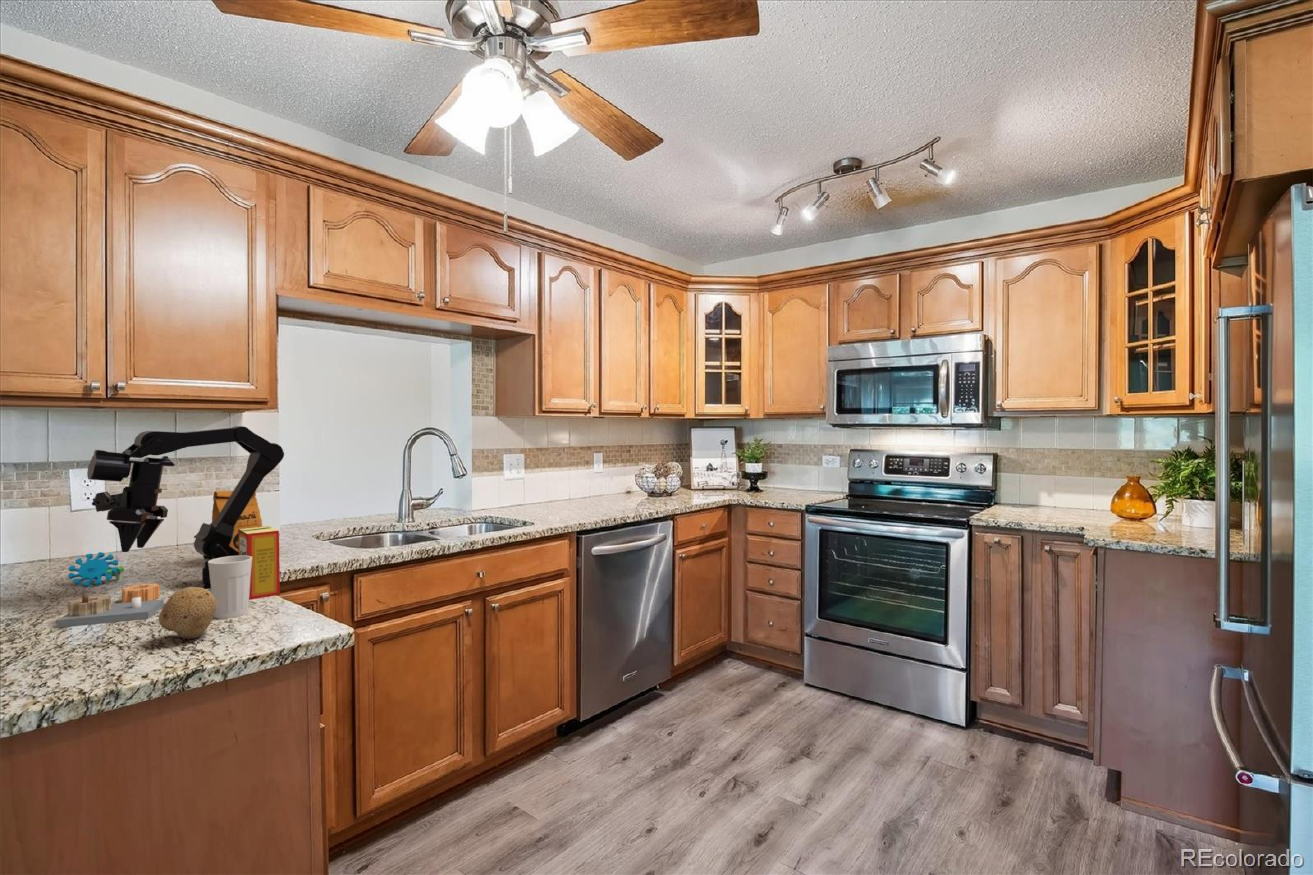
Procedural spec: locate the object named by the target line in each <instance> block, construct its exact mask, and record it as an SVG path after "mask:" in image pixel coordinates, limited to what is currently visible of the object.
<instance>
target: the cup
mask: <svg viewBox="0 0 1313 875" xmlns="http://www.w3.org/2000/svg"><path fill="white" fill-rule="evenodd" d="M207 561H208V560H207ZM208 566H209V574H210V582H211V588H210V590H211V591H210V592H211V593H212V594H213V595H214V597H215V599H216V602H217V605H216V611H215V615H214V618H213V619H233V618H238V617H242V616H245V615H247V614H248V613H249V612H250V611H249V609H250V608H249V602H250V600H249V591H250V577H251V566H252V557H251V556H228V557H221V558H216V559H212V560H210V561H208Z"/></svg>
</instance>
